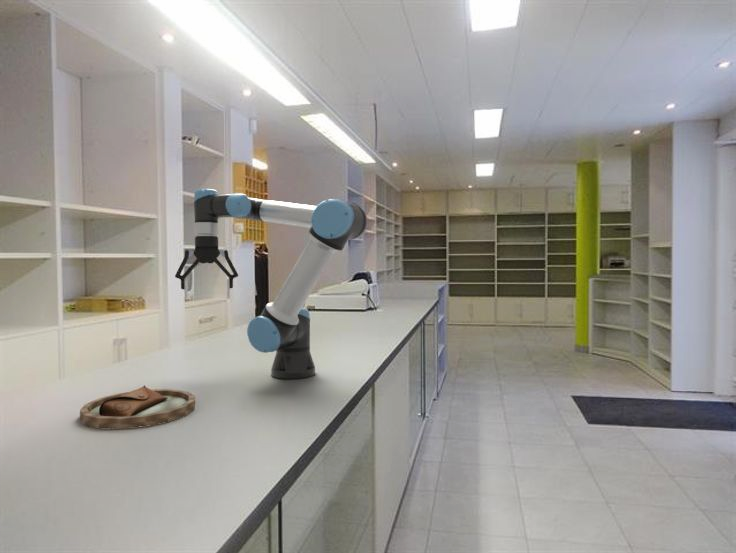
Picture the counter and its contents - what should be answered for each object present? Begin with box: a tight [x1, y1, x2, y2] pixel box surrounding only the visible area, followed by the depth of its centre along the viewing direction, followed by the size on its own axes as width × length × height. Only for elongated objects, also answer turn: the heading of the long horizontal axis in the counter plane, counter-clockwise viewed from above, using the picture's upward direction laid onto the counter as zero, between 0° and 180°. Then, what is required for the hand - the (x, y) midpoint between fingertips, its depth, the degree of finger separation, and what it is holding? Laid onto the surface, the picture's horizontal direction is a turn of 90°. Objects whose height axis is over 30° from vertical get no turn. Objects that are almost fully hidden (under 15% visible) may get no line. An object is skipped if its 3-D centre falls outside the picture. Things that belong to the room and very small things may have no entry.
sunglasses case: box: [99, 385, 168, 417], centre depth 133 cm, size 18×7×7 cm
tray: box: [79, 388, 196, 430], centre depth 133 cm, size 27×27×2 cm
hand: (207, 298), depth 172 cm, fingers open, 13 cm apart
